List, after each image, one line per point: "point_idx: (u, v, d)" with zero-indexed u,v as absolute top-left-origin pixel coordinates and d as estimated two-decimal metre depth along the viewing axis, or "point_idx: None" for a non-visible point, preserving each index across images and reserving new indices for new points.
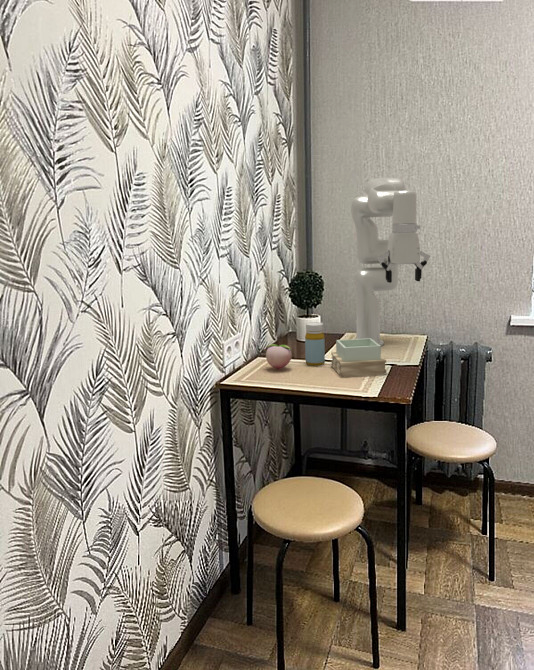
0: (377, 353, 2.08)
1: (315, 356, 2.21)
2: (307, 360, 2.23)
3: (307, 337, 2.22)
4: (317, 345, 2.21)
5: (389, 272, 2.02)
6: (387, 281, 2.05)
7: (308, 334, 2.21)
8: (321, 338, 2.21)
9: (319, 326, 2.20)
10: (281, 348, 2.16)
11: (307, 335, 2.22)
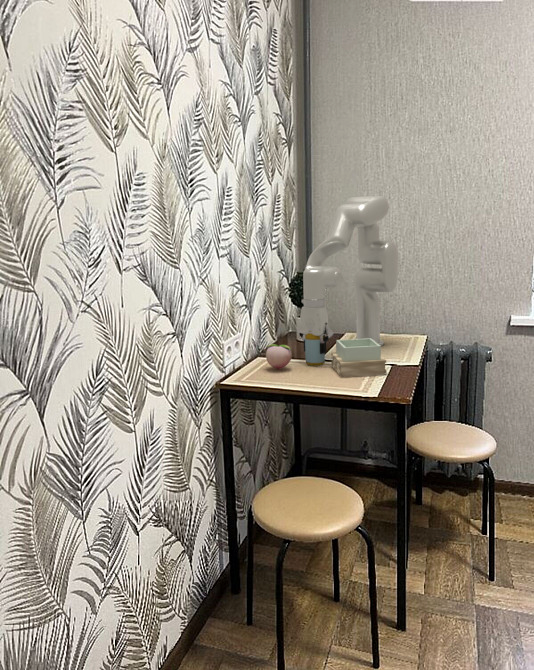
0: (377, 353, 2.08)
1: (315, 356, 2.21)
2: (307, 360, 2.23)
3: (307, 337, 2.22)
4: (317, 345, 2.21)
5: None
6: (322, 353, 2.22)
7: (308, 334, 2.21)
8: None
9: None
10: (281, 348, 2.16)
11: (307, 335, 2.22)
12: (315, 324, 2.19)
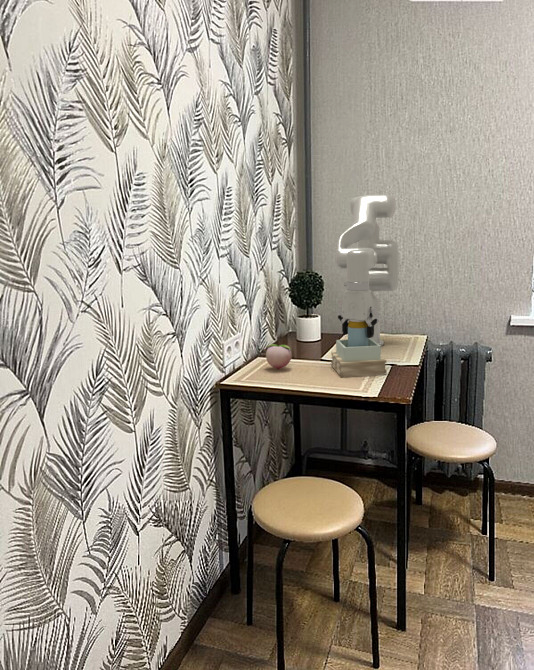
0: (377, 353, 2.08)
1: (359, 345, 2.10)
2: None
3: (350, 325, 2.10)
4: (361, 334, 2.09)
5: None
6: (369, 337, 2.09)
7: (351, 322, 2.10)
8: (365, 326, 2.09)
9: None
10: (281, 348, 2.16)
11: (350, 323, 2.10)
12: (359, 308, 2.07)
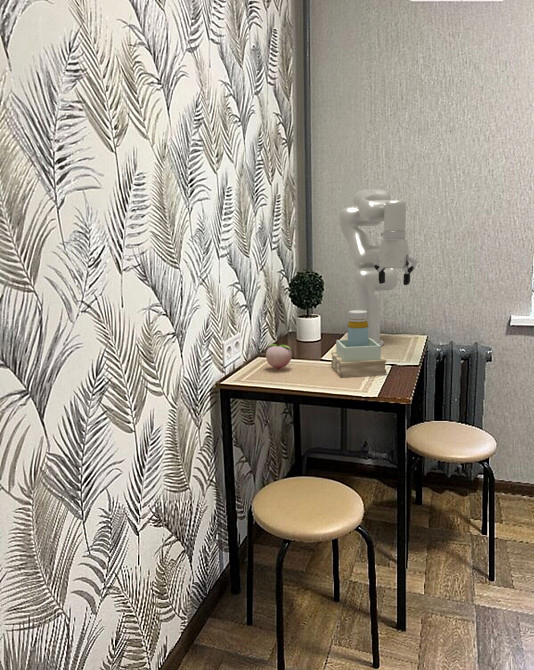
0: (377, 353, 2.08)
1: (359, 345, 2.10)
2: None
3: (350, 325, 2.10)
4: (361, 334, 2.09)
5: None
6: (406, 284, 2.18)
7: (351, 322, 2.10)
8: (365, 326, 2.09)
9: (363, 314, 2.09)
10: (281, 348, 2.16)
11: (350, 323, 2.10)
12: (396, 256, 2.16)
